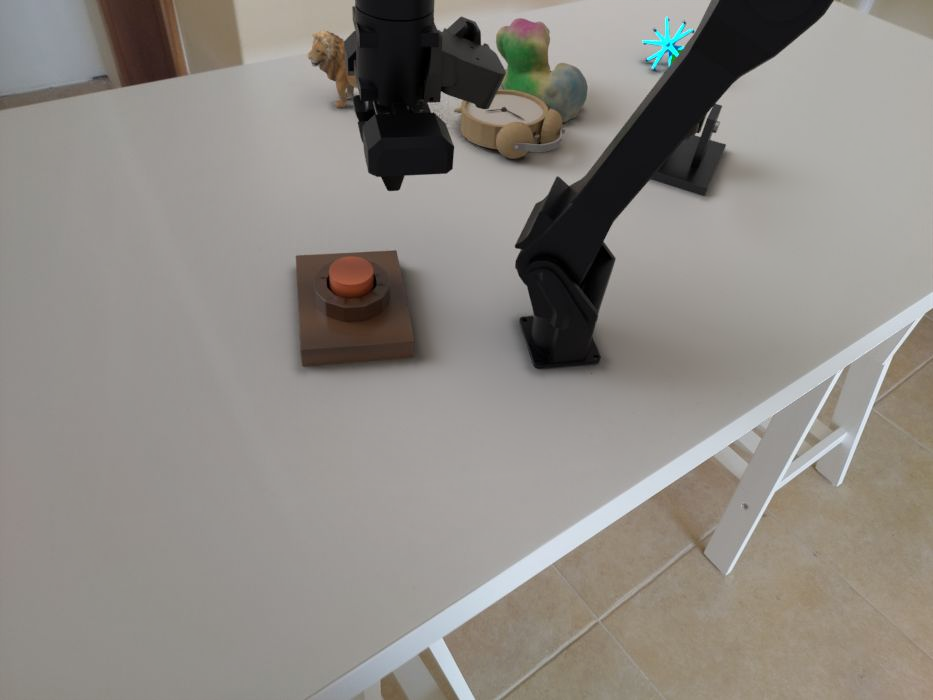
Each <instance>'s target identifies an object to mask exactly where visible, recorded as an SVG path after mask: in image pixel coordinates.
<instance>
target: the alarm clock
mask: <svg viewBox="0 0 933 700" xmlns="http://www.w3.org/2000/svg"><path fill="white" fill-rule="evenodd" d="M453 110H454V111H453V113H458V114H460V125H459V126H460V127H459V130H460V132H461V134H462V136H463V137H464V138H465V139H467V141H469V142H470V143H473V144H475V145H478V146H480V147H482V148H483V147H484V148H488V149H492V150H498V152H499V153H500V155H502V156H503V157H505V158H507V159H511V160H512V159H513V160H517V159H520V158H523V157H524V156H526V155H527V154H528V153H529V152H531V153H545V152H550V151H553V150H555V149H557V148H559V147H560V146H561V145H562V142H563V141H562V140H563V134H565V133H566V129H565V128H564V125H563V123H562V118H561V115H560V114H559V113H558V112H557V111H556V110H553V109H549V111H548V107H547V106H546V104H545V103H544V102H543V101H542V100H540V99H539V98H537V97H535V96H533V95H530V94H528V93H524V92H520V91H515V90H504V89H502V88H499V89H498V91H497V93H496V95H495V97H494V99H493V101H492V103H491V106H490V108H489V109H481V108H477V107H476V106H475V104H473V103H470V102H467V101H464V100H461V105H460V107H457V108H454V109H453ZM539 143H540V144H539Z"/></svg>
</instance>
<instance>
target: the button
mask: <svg viewBox="0 0 933 700" xmlns="http://www.w3.org/2000/svg"><path fill="white" fill-rule="evenodd" d="M329 280H330V288H331V290H332V292H333V293H334V294H336V295H337V296H340V297H343V298H346V299H350V298H361V297H363V296H365V295H367V294H369V293H370V292H371V290H372V289H373V285H374V280H373V267H372V265H371V264H370V263H369V262H368V261H367V260H365V259H363V258H360V257H353V256H349V257H343V258H340V259H338V260H336V261H334V262H333V263H332V264H331V266H330V268H329Z"/></svg>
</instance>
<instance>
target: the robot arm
mask: <svg viewBox="0 0 933 700" xmlns="http://www.w3.org/2000/svg"><path fill="white" fill-rule="evenodd" d="M834 1H835V0H710V2H709V3H708V6H707V8H706V10H705V12H704V14H703V16H702V18H701V20H700V23H699V24H698V26H697V28H696V30H695V32H694V33H693V34H692V36H691V37H690V38H689V40H688V41H687V42H686V44H685V45H683V46H684V48H683V49H682V50H681V52H680V53H679V54H678V56H677V57H676V58H675V59H674V61H673V62H672V63H671V65H670V66H669V65H668V67H667V69H666V70H665V71H664V72H663V74H662V75H661V76H660V77H659V79H658V80H657V81H656V83H655V84H654V85H653V87H652V88H651V89H650V91H649V92H648V93H647V95H645V97H644V99H643V100H642V101H641V102H640V104H639V105H638V106H637V107H636V109H635V110H634V111H633V113H632V114H631V116H630V117H629V118H628V120H627V121H626V122H625V123H624V125H623V126H622V127H621V128H620V130H619V131H618V133H617V134H615V136H614V138H613V139H612V140H611V142H610V143H609V144H608V146H607V147H606V148H605V149H604V151H603V152H602V153H601V154H600V156H599V157H598V159H597V160H596V161H595V162H594V164H593V165H592V166H591V167H590V169H589V170H588V172H587V173H586V174H585V175H584V176H583V177H582V178H581V179H579V180H577V181H576V182H574V183H572V184H570V185H569V184H567V183H566V182H565V181H564V180H563V179H562V178H561V177H560V176H555V178H554V181H553V182H552V184H551V187H550V189H549V191H548V194H547V195H546V196H545V197H544V198H543V199H542V200H540V201H538V202H536V203H535V204H534V206H533V208H532V210H531V212H530V214H529V216H528V218H527V220H526V222H525V224H524V226H523V228H522V230H521V233H520V234H519V236H518V238H517V240H516V242H515V244H514V248H515V249H516V250H517V249H518V250H520V251H519V252H518V255H517V256H516V260H515V263H514V268H515V270H516V271H517V274H518V275H517V276H518V277H519V278H520V280H521V281H522V283H523V284H524V285H525V286H526V287H527V291H528V295H529V300H530V304H531V308H532V312H533V315H526V316H521V317H519V320H518V324H519V327H520V330H521V333H522V336H523V339H524V342H525V345H526V348H527V351H528V354H529V357H530V360H531V363H532V365H533V367H534V368H536V369H549V368H551V369H552V368H563V367H573V366H584V365H585V366H586V365H596V364H597V365H598V364H599V363H601V360H602V356H601V353H600V351H599V348H598V346H597V344H596V342H595V340H594V337H593V335H594V331H595V329H596V325H597V321H598V318H599V313H600V309H601V307H602V303H603V300H604V297H605V294H606V291H607V288H608V285H609V281H610V279H611V275H612V273H613V269H614V266H615V263H616V260H617V259H616V256H615V255H614V254H613V252H612V251H611V250H610V248H609V247H608V245H607V244H606V243H605V240H606V237H607V236H608V233H609V232H610V230H611V227H612V226H613V224H614V222H615V221H616V220H617V219H618V218H619V216H620V215H621V214H622V213H623V212H624V211H625V209H626V208H627V207H628V206H629V205H630V204H631V202H632V201H633V200H634V199H635V198H636V197H637V195H638V194H640V192H641V191H642V190H643V188H644V187H645V186H646V185H647V184H648V182H650V181H651V178H652V177H653V175H654V174H655V173H656V172H657V171H658V170H659V169H660V167H661V166H662V165H663V164H664V163H665V162H666V160H667V159H668V158H669V157H670V156H671V155H672V153H673V152H674V151H675V150H676V149H677V148H678V146H679V145H680V144H681V143H682V142H683V141H684V139H685V138H686V137H687V136H688V135H689V134H690V133H691V131H692V130H693V129H694V128H695V127H696V126H697V124H698V123H699V122H700V121H701V120H702V119H703V117H704V116H705V115H706V114H707V115H708V114H709V113H710V111H711V110H712V108H713V106H714V105H715V104H717V103H718V101H719V100H720V99H721V98H722V97H723V95H725V93H726V92H727V91H728V90H729V88H731V86H732V85H733V84H734V83H735V82H737V81H738V80H739V79H740V78H742V77H743V76H745V75H746V74H748V73H750V72H752V71H753V70H756V69H757V68H758V67H760V66H762V65H764V64H766V63H767V62H769V61H770V60H772V59H774V58H775V57H776V56H778V55H779V54H780V53H782V51H784V50H785V49H786V48H788V47H789V46H790V45H791V44H792V43H793V42H795V41H796V40H797V39H798V38H800V36H802V35H803V34H804V33H806V32H807V31H808V30H809V29H810V28H811V27H813V25H815V24H816V23H817V22H819V21H820V19H822V18H823V17H824V15H826V13H827V11H828V10H829V9H830V7H831V6H832V4H833V3H834ZM351 11H352V12H351V13H352V14H351V15H352V24H353V27H354V30H353V31H352V33H350V34H349V35H348V37H347V38H346V39H345V40H344V59H345V66H346V71H347V76H354V75H355V77H356V82H357V86H358V88H357V90H358V94H356V95H353V98H352V103H353V109H354V112H355V116H356V118H357V126H358V127H357V128H358V132H359V134H360V136H359V137H360V140H361V142H362V144H363V154H364V158H365V163H366V169H367V172H368V173H367V174H369V175H371V176H374V177H376V178H380V179H381V180H382V182H383V185H384V187H385V189H386V191H388V192H397V191H400V190H401V187H402V184H403V182H404V179H405V177H406V176H408V177H409V176H425V175H428V176H429V175H446V174H448V173H449V172H451V171H452V170H453V169H454V156H455V155H454V154H455V145H454V142H453V140H452V137H451V134H450V132H449V128H448V126H447V124H446V122H445V121H444V120H443V119H442V118H440V116H438V114H437V113H435V112H432V111H431V108H430V105H429V104H430V103H432V104H433V103H441V98H442V97H441V96H442V93H443V94H445V95H447V96H449V97H453V98H455V99H458V100H461V101H463V100H464V101H467V102H470V103H473V104H475V106H476V107H477V108H481V109H489V108H490V106H491V103H492V101H493V99H494V97H495V95H496V93H497V91H498V89H500V87H501V86H502V84H501V83H502V81H503V79H504V77H505V75H506V71H505V69H506V68H505V67H504V66H503V65H504V64H503V63H502V62H501V60H500V58H499V55H498V54H497V52H496V51H494V50H493V49H492V48H491V47H490V45H489V44H488V43H485V42H484V43H483V44H482V32H481V29H480V27H479V25H478V24H477V22H476V21H475V20H472V19H470V18H467V17H465V16H459V17H458V18H457V19H456V20H455V21H454V22H453V23H452V24H451V25H450V26H448V27H447V28H446V27H444V28H443V30H442V31H441V30H440V29H438V28H437V25H436V23H435V0H354V5H353V6H352V7H351ZM707 115H706V116H707Z"/></svg>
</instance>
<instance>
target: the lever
mask: <svg viewBox="0 0 933 700" xmlns="http://www.w3.org/2000/svg"><path fill="white" fill-rule="evenodd" d="M707 116H708V113H707V114H706V115H705V116H704V117H703V119H702V120H701V121H700V122H699V123H698V124H697V126H696V127H695V128H694V129H693V130H692V131H691V133H690V134H689V135H688V136H687V137H686V138H685V139H684V141H686V140H689V139H691V138H692V137H693V136H694V135H695V136H696V134H700V133H702V132H701V131H702V130H703V129H702V128H703V127H704V125H705V122H706V119H707Z"/></svg>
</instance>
